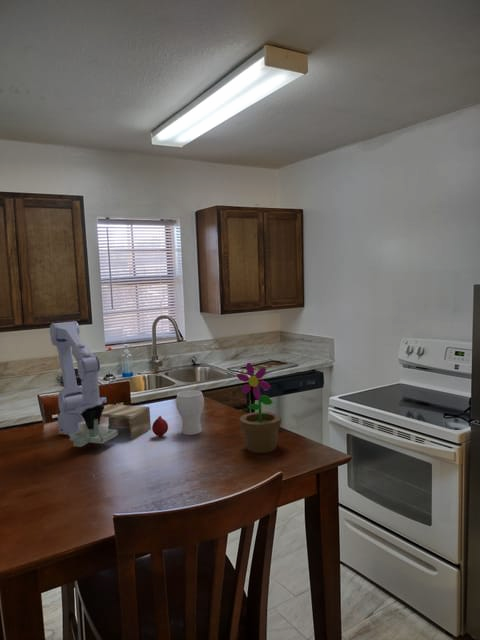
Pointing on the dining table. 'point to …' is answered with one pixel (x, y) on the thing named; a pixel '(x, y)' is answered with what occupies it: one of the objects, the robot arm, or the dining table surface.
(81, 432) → the grey rounded piece
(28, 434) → the dining table surface
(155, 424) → the onion
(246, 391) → the flowerpot
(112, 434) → the tray
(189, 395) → the cup
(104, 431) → the white egg
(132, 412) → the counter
